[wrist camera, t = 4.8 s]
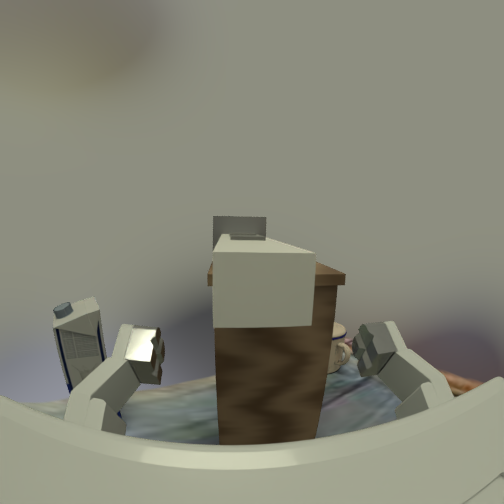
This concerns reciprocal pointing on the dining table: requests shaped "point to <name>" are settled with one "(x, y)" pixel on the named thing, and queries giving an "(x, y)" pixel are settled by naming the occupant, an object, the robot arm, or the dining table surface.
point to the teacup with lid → (338, 348)
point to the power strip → (259, 277)
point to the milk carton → (79, 340)
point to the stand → (275, 373)
